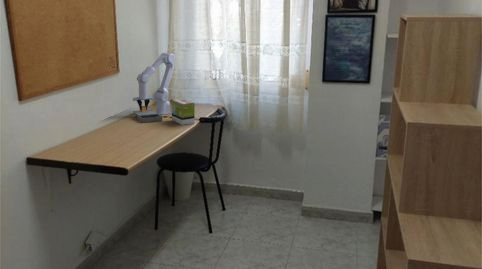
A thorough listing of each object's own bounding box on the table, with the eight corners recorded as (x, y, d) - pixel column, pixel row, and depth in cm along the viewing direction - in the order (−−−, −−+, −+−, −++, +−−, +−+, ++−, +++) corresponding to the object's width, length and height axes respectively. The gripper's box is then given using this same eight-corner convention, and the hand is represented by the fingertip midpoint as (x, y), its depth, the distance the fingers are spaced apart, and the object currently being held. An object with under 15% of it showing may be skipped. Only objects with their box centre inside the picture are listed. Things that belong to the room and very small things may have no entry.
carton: (156, 117, 318) (156, 113, 317) (162, 121, 308) (162, 116, 307) (136, 119, 311) (136, 114, 310) (142, 123, 301) (142, 118, 300)
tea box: (171, 120, 311) (170, 99, 307) (183, 118, 317) (183, 98, 313) (182, 125, 299) (182, 103, 295) (195, 123, 305) (195, 102, 301)
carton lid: (152, 110, 324) (152, 105, 323) (158, 114, 314) (158, 108, 313) (133, 112, 317) (133, 106, 316) (138, 116, 307) (138, 110, 306)
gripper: (134, 92, 308) (135, 112, 312) (154, 91, 315) (155, 110, 319) (131, 91, 314) (132, 110, 318) (151, 89, 321) (151, 108, 325)
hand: (143, 110), depth 319 cm, fingers closed on carton lid, 3 cm apart
